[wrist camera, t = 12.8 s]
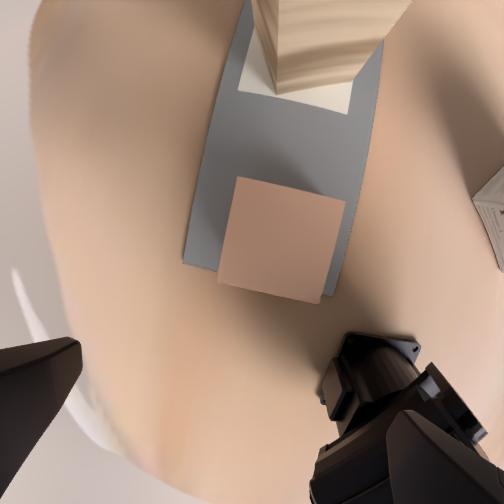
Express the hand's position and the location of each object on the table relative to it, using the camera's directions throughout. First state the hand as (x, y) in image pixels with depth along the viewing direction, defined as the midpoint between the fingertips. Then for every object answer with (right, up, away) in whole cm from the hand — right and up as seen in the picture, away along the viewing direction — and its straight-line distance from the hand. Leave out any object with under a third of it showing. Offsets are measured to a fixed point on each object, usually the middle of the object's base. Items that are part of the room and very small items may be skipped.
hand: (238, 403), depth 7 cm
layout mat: (+3, +12, +11) cm, 16 cm away
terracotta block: (+2, +5, +12) cm, 13 cm away
